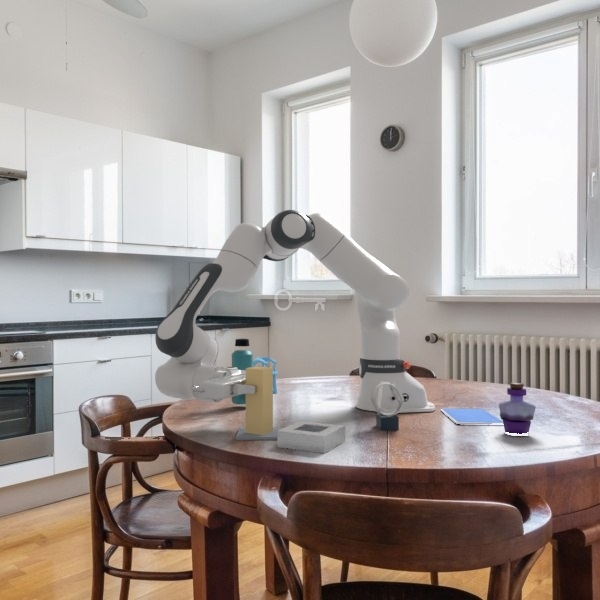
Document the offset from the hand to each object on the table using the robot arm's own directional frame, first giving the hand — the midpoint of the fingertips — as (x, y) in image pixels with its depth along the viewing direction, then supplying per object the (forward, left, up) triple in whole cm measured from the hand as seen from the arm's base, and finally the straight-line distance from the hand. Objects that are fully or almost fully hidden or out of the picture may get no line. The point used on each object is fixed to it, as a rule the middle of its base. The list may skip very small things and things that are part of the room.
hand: (262, 387), depth 134 cm
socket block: (-11, +9, -11) cm, 18 cm away
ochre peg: (+1, 0, -10) cm, 10 cm away
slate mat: (+1, 0, -11) cm, 11 cm away
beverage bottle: (+8, -33, -11) cm, 36 cm away
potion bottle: (-59, 0, -11) cm, 60 cm away
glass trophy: (-30, -7, -11) cm, 33 cm away
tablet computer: (-54, -19, -12) cm, 59 cm away
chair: (+3, -59, -11) cm, 61 cm away
